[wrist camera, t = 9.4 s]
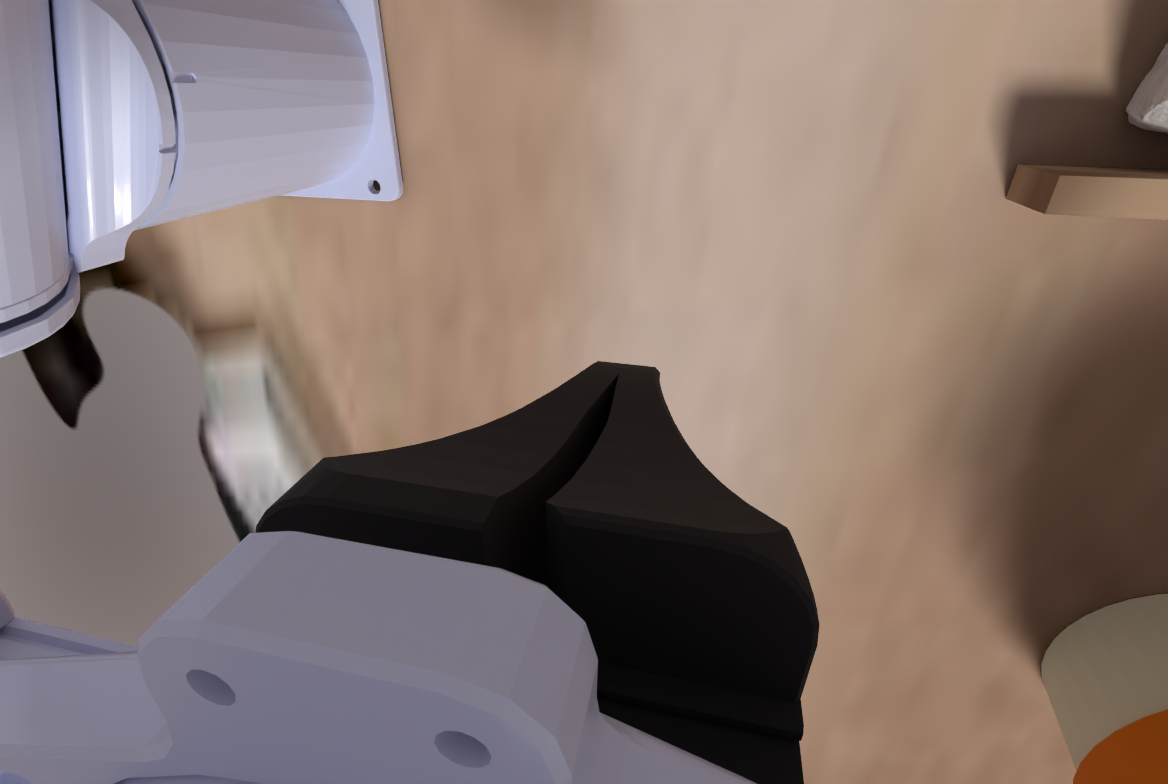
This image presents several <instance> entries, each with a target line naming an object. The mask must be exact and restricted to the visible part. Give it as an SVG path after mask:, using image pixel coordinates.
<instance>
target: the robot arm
mask: <svg viewBox="0 0 1168 784" xmlns="http://www.w3.org/2000/svg"><path fill="white" fill-rule="evenodd" d="M374 180H376V181H377V182H378V183H379V184H380V187H381V190H380V192H377V191H376V190H375V188H374V186H373V183H374ZM402 193H403V183H402V175H401V168H400V160H399V153H398V146H397V138H396V131H395V123H394V116H393V108H392V101H391V94H390V86H389V79H388V71H387V64H386V56H385V49H384V42H383V34H382V27H381V19H380V12H379V5H378V0H0V357H3V356H6V355H9V354H11V353H14V352H17V351H20V350H22V349H25V348H27V347H29V346H31V345H33V344H35V343H37V342H39V341H41V340H43V339H45V338H47V337H49V336H50V335H52V334H53V333H54V332H56V331H57V330H59V329H60V328H61V327H63V326H64V325H65V324H66V323H67V321H68V320H69V319H70V318H71V317H72V316H73V315H74V312H75V310H76V308H77V306H78V303H79V300H80V282H79V274H78V273H79V272H82V271H86V270H89V269H93V268H96V267H100V266H103V265H107V264H110V263H114V262H117V261H121V260H123V259H124V255H125V245H126V242H127V240H128V238H129V236H130V234H131V233H132V232H133V231H134V230H138V229H142V228H146V227H150V226H154V225H158V224H163V223H167V222H171V221H175V220H179V219H183V218H187V217H191V216H195V215H200V214H204V213H208V212H212V211H216V210H220V209H224V208H228V207H232V206H237V205H241V204H245V203H249V202H253V201H257V200H261V199H265V198H270V197H274V196H278V195H283V196H302V197H320V198H338V199H356V200H375V201H393V200H396V199H398V198H399V197H401V195H402ZM659 379H660V372H659V371H658V370H657V369H656V368H655V367H648V366H639V365H629V364H620V363H610V362H601V361H598V362H596V363H594V364H592V365H591V366H589V367H588V368H586V369H585V370H583V371H582V372H580V373H579V374H577V375H576V376H574V377H573V378H571V379H570V380H568V381H567V382H565V383H564V384H562V385H561V386H559V387H558V388H556V389H554V390H553V391H551V392H550V393H548V394H546V395H544V396H542V397H541V398H539V399H537V400H535V401H533V402H532V403H530V404H528V405H526V406H525V407H523V408H521V409H519V410H517V411H515V412H513V413H510V414H508V415H506V416H504V417H501V418H499V419H497V420H494V421H492V422H489V423H487V424H484V425H482V426H479V427H476V428H473V429H470V430H466V431H463V432H460V433H457V434H454V435H451V436H447V437H444V438H441V439H437V440H433V441H429V442H425V443H420V444H416V445H411V446H406V447H401V448H396V449H390V450H384V451H378V452H370V453H362V454H354V455H346V456H338V457H327V458H323V459H322V460H321V461H320V462H319V463H317V464H316V465H315V466H314V467H313V468H312V469H311V470H310V471H309V472H308V473H307V474H305V475H304V476H303V477H302V478H301V479H300V480H299V481H298V482H297V483H296V484H295V485H293V486H292V487H291V488H290V489H289V490H288V491H287V492H286V493H285V494H284V495H283V496H282V497H280V498H279V499H278V500H277V501H276V502H275V503H274V504H273V505H272V506H271V507H270V508H268V509H267V510H266V511H265V513H264V515H263V516H262V518H261V519H260V521H259V523H258V524H257V526H256V533H250V534H249V535H248V536H247V537H245V538H244V539H243V540H242V541H241V542H240V543H239V544H238V545H237V546H236V547H235V548H234V549H233V550H232V551H231V552H229V553H228V554H227V555H226V556H225V557H224V558H223V559H222V560H221V561H220V562H219V563H218V564H217V565H215V567H213V568H212V569H211V570H210V571H209V572H208V573H207V574H206V575H205V576H204V577H203V578H202V579H201V580H200V581H198V582H197V583H196V584H195V585H194V586H193V587H192V588H191V589H190V590H189V591H188V592H187V593H186V594H185V595H183V597H181V598H180V599H179V600H178V601H177V602H176V603H175V604H174V605H173V606H172V607H171V608H169V610H167V611H166V612H165V613H164V614H163V615H162V616H161V617H160V618H159V619H158V620H157V621H156V622H155V623H154V624H153V625H152V626H151V627H150V628H149V629H148V630H147V631H146V632H145V633H144V634H143V635H142V636H141V637H140V638H139V639H138V646H135V645H131V644H127V643H122V642H119V641H114V640H110V639H106V638H102V637H97V636H93V635H89V634H85V633H81V632H76V631H72V630H67V629H63V628H59V627H55V626H51V625H47V624H42V623H38V622H34V621H30V620H25V619H21V618H17V617H14V610H13V608H12V606H11V604H10V602H9V601H8V599H7V598H6V596H5V595H4V594H3V592H1V590H0V784H804V780H803V772H802V763H801V754H800V745H799V740H800V741H801V739H802V736H803V727H804V724H803V716H802V708H801V700H800V698H801V695H802V692H803V689H804V686H805V682H806V679H807V676H808V673H809V670H810V666H811V663H812V660H813V657H814V654H815V651H816V647H817V642H818V632H819V620H818V614H817V607H816V603H815V599H814V595H813V592H812V588H811V585H810V582H809V579H808V576H807V573H806V571H805V568H804V565H803V562H802V559H801V557H800V555H799V552H798V550H797V547H796V545H795V543H794V540H793V538H792V536H791V534H790V532H789V530H788V529H787V527H785V526H783V525H782V524H780V523H778V522H777V521H775V520H774V519H772V518H770V517H769V516H767V515H765V514H764V513H762V512H760V511H759V510H757V509H756V508H754V507H752V506H751V505H749V504H748V503H746V502H745V501H744V500H742V499H741V498H740V497H738V496H737V495H736V494H735V493H733V492H732V491H731V490H729V489H728V488H727V487H726V486H725V485H723V484H722V483H721V482H720V481H719V480H718V479H717V478H716V477H715V476H714V475H713V474H712V473H711V472H710V471H709V470H708V469H707V468H706V467H705V466H704V465H703V464H702V463H701V462H700V460H699V459H698V458H697V457H696V455H695V454H694V453H693V451H692V450H691V449H690V447H689V446H688V444H687V443H686V441H685V440H684V438H683V437H682V435H681V433H680V432H679V430H678V428H677V426H676V424H675V423H674V421H673V418H672V416H671V414H670V412H669V410H668V407H667V405H666V402H665V400H664V397H663V394H662V390H661V387H660V382H659Z"/></svg>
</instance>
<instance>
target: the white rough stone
mask: <svg viewBox="0 0 1168 784" xmlns="http://www.w3.org/2000/svg"><path fill="white" fill-rule="evenodd" d="M1126 112H1127V113H1128V121H1129V123H1131V124H1133V125H1135V126H1137V127H1139V128H1142V129H1145V130H1150V131H1156V132H1163V133H1168V42H1167V44H1166V45H1165V47H1164V49H1163V50H1162V51H1161V53H1160V55H1159V56H1158V58H1157V60H1156V62H1155V65H1154V66H1153V67H1152V69H1151V70H1150V72H1149V73H1148V74H1147V75H1146V76H1145V78H1144V79H1143V81H1142V82H1141V83H1140V85H1139V87H1138V88H1137V90H1136V92H1135V94H1134V95H1133V97H1132V99H1131V100H1130V102H1129V104H1128V106H1127V108H1126Z"/></svg>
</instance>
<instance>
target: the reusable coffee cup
mask: <svg viewBox="0 0 1168 784" xmlns="http://www.w3.org/2000/svg"><path fill="white" fill-rule="evenodd" d="M1041 674H1042V680H1043V682H1044V685H1045V688H1046V690H1047V693H1048V696H1049V698H1050V701H1051V704H1052V706H1053V709H1054V712H1055V714H1056V717H1057V720H1058V722H1059V725H1060V728H1061V730H1062V733H1063V736H1064V738H1065V741H1066V744H1067V746H1068V749H1069V752H1070V754H1071V757H1072V759H1073V762H1074V765H1075V767H1076V770H1077V772H1076V774H1075V776H1074V779H1073V784H1168V594H1156V595H1151V596H1145V597H1139V598H1133V599H1129V600H1126V601H1122V602H1119V603H1115V604H1112V605H1109V606H1106V607H1103V608H1101V609H1099V610H1097V611H1094V612H1092V613H1090V614H1087V615H1085V616H1084V617H1082V618H1080V619H1079V620H1077V621H1076V622H1074V623H1072V624H1071V625H1069V626H1068V627H1067V628H1065V629H1064V630H1063V631H1062V632H1061V633H1060V634H1059V635H1058V636H1057V637H1056V638H1054V640H1053V641H1052V643H1051V644H1050V646H1049V647H1048V649H1047V650H1046V652H1045V655H1044V658H1043V661H1042V664H1041Z"/></svg>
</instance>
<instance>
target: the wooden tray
mask: <svg viewBox="0 0 1168 784" xmlns="http://www.w3.org/2000/svg"><path fill="white" fill-rule="evenodd" d="M1006 199H1008V200H1010V201H1013V202H1016V203H1018V204H1021V205H1023V206H1026V207H1028V208H1031V209H1033V210H1036V211H1039V212H1041V213H1044V214H1055V215H1076V216H1097V217H1117V218H1138V219H1159V220H1168V170H1164V169H1135V168H1106V167H1077V166H1047V165H1017V168H1016V171H1015V174H1014V176H1013V179H1012V182H1011V185H1010V188H1009V191H1008V193H1007V196H1006Z"/></svg>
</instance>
